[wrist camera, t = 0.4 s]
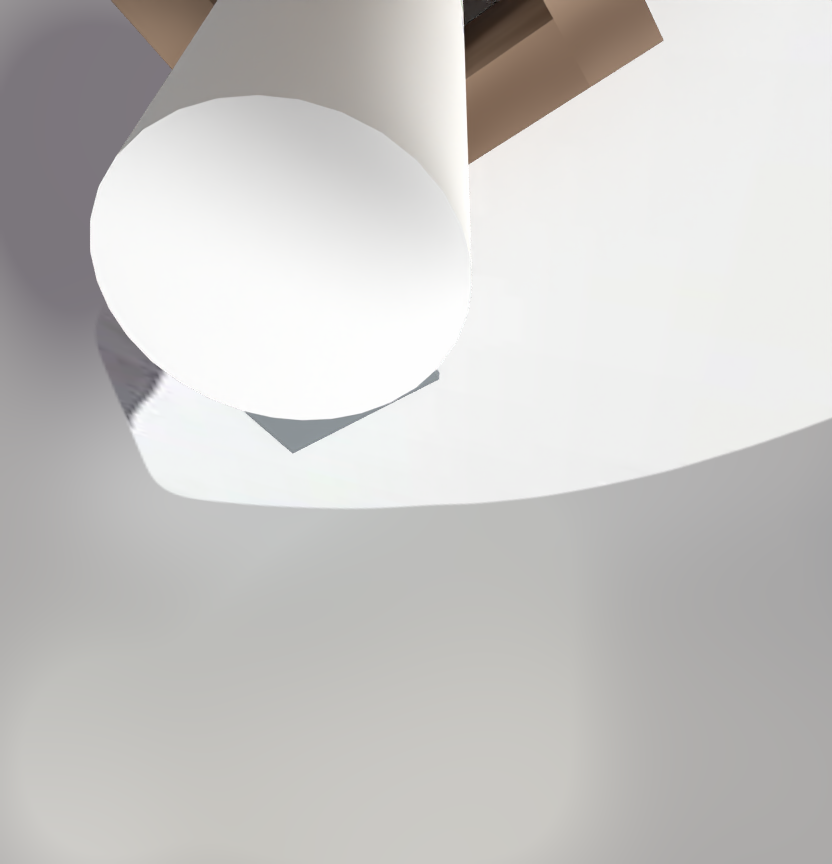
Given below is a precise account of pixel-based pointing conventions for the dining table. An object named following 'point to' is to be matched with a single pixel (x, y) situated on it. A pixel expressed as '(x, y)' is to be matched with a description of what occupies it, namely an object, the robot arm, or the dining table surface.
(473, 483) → the dining table surface
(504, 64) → the frame
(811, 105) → the dining table surface
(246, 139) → the cylindrical container
